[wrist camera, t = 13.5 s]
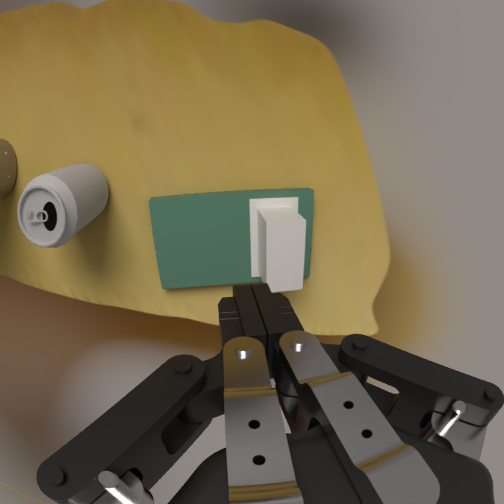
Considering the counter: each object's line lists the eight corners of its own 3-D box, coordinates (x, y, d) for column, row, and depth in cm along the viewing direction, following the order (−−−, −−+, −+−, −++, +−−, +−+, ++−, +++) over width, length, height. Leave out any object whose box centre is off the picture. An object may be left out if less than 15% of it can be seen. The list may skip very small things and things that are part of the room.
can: (108, 222, 34) (70, 260, 23) (61, 214, 32) (13, 248, 21) (114, 164, 31) (71, 181, 20) (64, 160, 30) (11, 175, 19)
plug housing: (257, 207, 34) (266, 222, 29) (291, 206, 35) (306, 220, 29) (258, 269, 38) (266, 292, 32) (289, 266, 38) (302, 289, 33)
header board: (163, 283, 38) (159, 300, 34) (151, 197, 34) (143, 206, 29) (305, 271, 41) (316, 287, 36) (309, 188, 36) (322, 195, 32)
